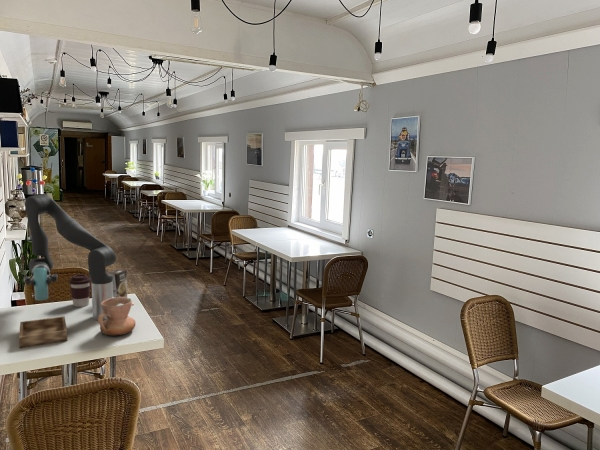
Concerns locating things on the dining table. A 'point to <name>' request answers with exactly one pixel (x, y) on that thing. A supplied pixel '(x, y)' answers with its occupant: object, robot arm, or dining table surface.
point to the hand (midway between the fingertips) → (40, 283)
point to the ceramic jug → (116, 316)
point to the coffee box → (119, 283)
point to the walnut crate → (42, 332)
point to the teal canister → (40, 283)
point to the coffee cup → (80, 289)
